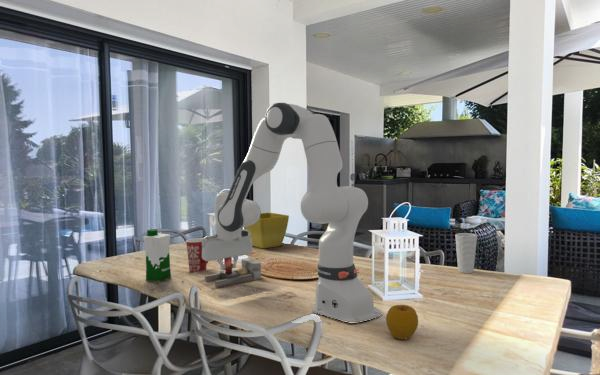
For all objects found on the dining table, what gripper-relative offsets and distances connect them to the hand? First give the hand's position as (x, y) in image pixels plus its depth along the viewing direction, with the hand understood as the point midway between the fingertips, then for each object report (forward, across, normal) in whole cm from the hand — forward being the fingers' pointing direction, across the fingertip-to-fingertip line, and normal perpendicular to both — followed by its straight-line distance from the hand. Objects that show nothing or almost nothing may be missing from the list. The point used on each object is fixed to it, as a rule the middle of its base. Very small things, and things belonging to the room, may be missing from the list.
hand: (228, 268), depth 168 cm
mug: (+6, -1, +25) cm, 26 cm away
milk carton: (+6, -19, +25) cm, 32 cm away
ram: (+4, 0, 0) cm, 4 cm away
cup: (+7, +85, -46) cm, 97 cm away
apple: (+7, +15, -74) cm, 76 cm away
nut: (+5, +6, 0) cm, 8 cm away
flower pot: (+6, +49, +52) cm, 72 cm away
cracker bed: (+6, +1, 0) cm, 6 cm away
